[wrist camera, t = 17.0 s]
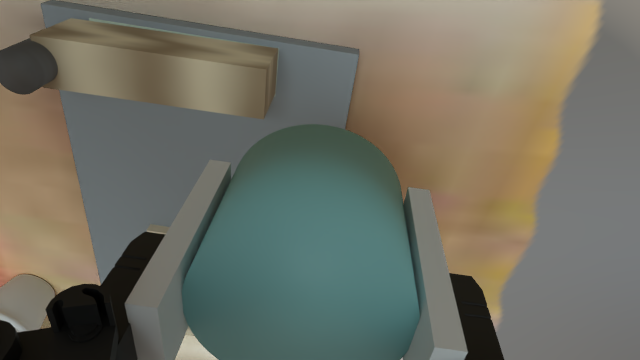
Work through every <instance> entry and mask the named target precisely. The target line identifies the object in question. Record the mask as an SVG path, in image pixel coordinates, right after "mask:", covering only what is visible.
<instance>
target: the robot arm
mask: <svg viewBox="0 0 640 360" xmlns="http://www.w3.org/2000/svg"><path fill="white" fill-rule="evenodd" d="M230 181H231V162H224V161H217V160H209V162H208V164H207V166H206V167H205V169H204V171H203V172H202V174H201V176H200V177H199V179H198V181H197V182H196V184H195V186H194V187H193V189H192V191H191V192H190V194H189V196H188V198H187V199H186V201H185V203H184V204H183V206H182V208H181V209H180V211H179V213H178V214H177V216H176V218H175V219H174V221H173V223H172V224H171V226H170V228H169V229H168V231H167V233H166V234H159V233H152V232H144V233H142V234H141V235H139V236H138V237H137V238H135V239H134V240H132V241H131V242H130V243H129V245H128V246H127V248H126V249H125V251H124V252H123V253H122V256H121V257H120V258H119V259H118V261H117V262H116V264H115V267H114V268H112V270H111V271H110V272H109V274H108V275H107V277H106V278H105V280H104V281H103V283H102V284H101V286H98V285H96V284H82V285H77V286H73V287H70V288H68V289H66V290H64V291H62V292H60V293H59V294H58V295H56V296H55V297H54V298H53V299H52V300H51V301H50V302H49V304H48V306H47V307H46V309H45V310H46V313H47V316H48V318H49V321H50V324H51V327H50V328H45V329H38V330H30V331H23V332H17V331H16V329H15V328H14V327H13V326H12V325H11V324H10V323H9V322H6V321H2V320H0V360H175V358H176V355H177V353H178V350H179V348H180V345H181V343H182V341H183V338H184V336H185V333H186V331H187V328H188V324H187V322H186V319H185V316H184V313H183V304H182V288H183V283H184V280H185V278H186V275H187V273H188V270H189V268H190V266H191V264H192V262H193V260H194V258H195V256H196V253H197V251H198V249H199V247H200V245H201V243H202V241H203V239H204V236H205V234H206V232H207V230H208V228H209V226H210V224H211V222H212V219H213V217H214V215H215V213H216V211H217V209H218V207H219V205H220V202H221V200H222V198H223V196H224V194H225V192H226V190H227V188H228V185H229V183H230ZM403 206H404V212H405V219H406V226H407V232H408V239H409V245H410V252H411V258H412V265H413V272H414V278H415V285H416V291H417V298H418V305H419V312H420V320H419V322H418V325H417V328H416V331H415V333H414V336H413V339H412V342H411V344H410V347H409V350H408V351H407V353H406V354H405V355H404V356H403V360H504V358H503V354H502V352H501V348H500V345H499V342H498V339H497V336H496V332H495V329H494V326H493V323H492V320H491V319H490V318H491V316H490V313H489V310H488V308H487V303H486V300H485V297H484V294H483V291H482V289H481V288H480V287H479V285H478V284H477V283H476V281H475V280H474V279H473V278H472V276H465V275H458V274H451V273H449V271H448V266H447V262H446V258H445V254H444V250H443V245H442V241H441V237H440V233H439V229H438V224H437V220H436V216H435V212H434V208H433V203H432V199H431V195H430V191H429V190H425V189H418V188H411V187H408V190H407V193H406V197H405V201H404V204H403Z"/></svg>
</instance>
